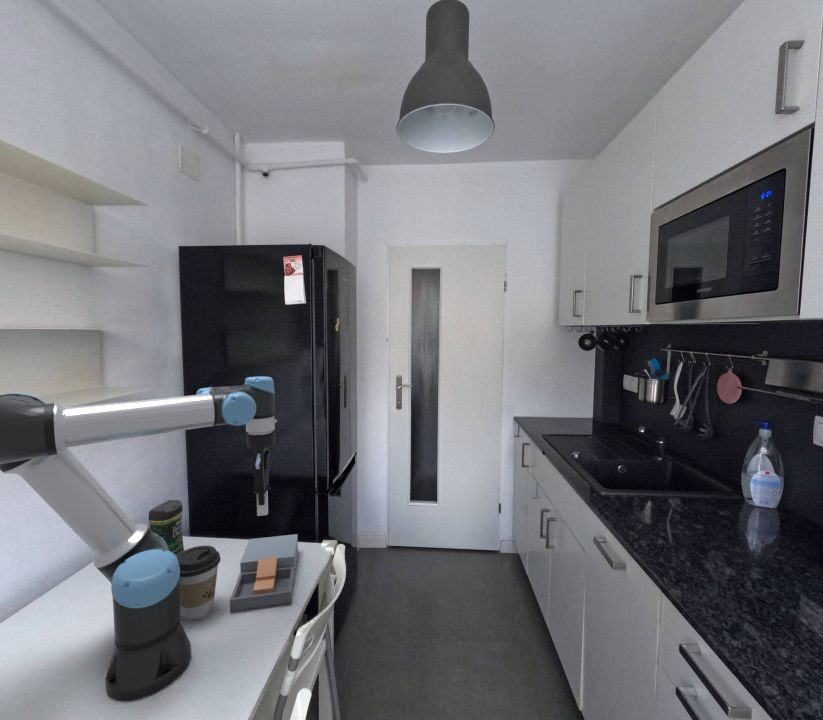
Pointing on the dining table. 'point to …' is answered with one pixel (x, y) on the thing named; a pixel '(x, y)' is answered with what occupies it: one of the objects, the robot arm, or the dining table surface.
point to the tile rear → (267, 568)
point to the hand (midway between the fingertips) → (262, 514)
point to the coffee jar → (168, 524)
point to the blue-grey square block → (270, 552)
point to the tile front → (264, 586)
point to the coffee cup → (197, 580)
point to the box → (247, 601)
